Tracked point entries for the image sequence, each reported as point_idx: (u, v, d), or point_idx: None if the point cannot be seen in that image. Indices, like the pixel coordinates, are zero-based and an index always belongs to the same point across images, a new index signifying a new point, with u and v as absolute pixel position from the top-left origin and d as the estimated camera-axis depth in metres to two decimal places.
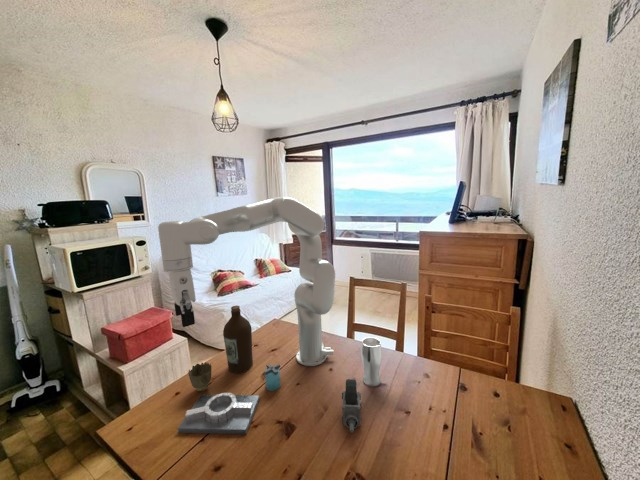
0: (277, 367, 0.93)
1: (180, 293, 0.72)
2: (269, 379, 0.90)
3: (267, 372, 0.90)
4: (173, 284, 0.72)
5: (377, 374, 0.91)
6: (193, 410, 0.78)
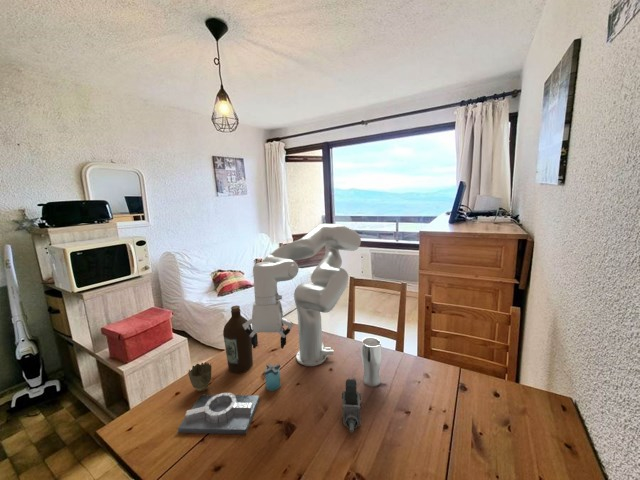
0: (277, 367, 0.93)
1: (281, 320, 0.87)
2: (269, 379, 0.90)
3: (267, 372, 0.90)
4: (275, 315, 0.86)
5: (377, 374, 0.91)
6: (193, 410, 0.78)
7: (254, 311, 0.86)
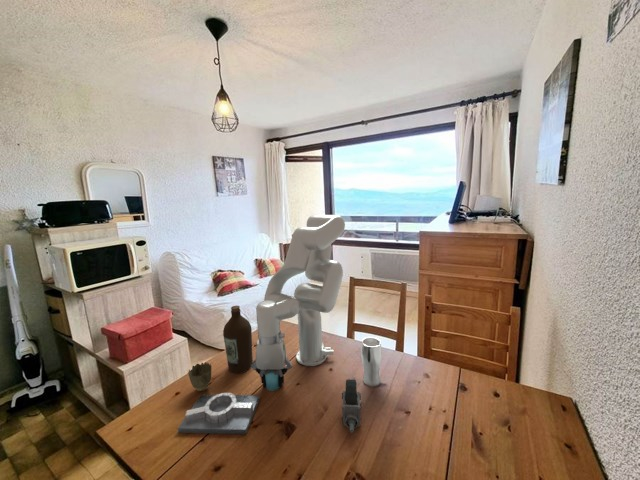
0: None
1: (284, 358, 0.90)
2: (269, 379, 0.90)
3: (267, 372, 0.90)
4: (278, 353, 0.88)
5: (377, 374, 0.91)
6: (193, 410, 0.78)
7: (258, 349, 0.89)
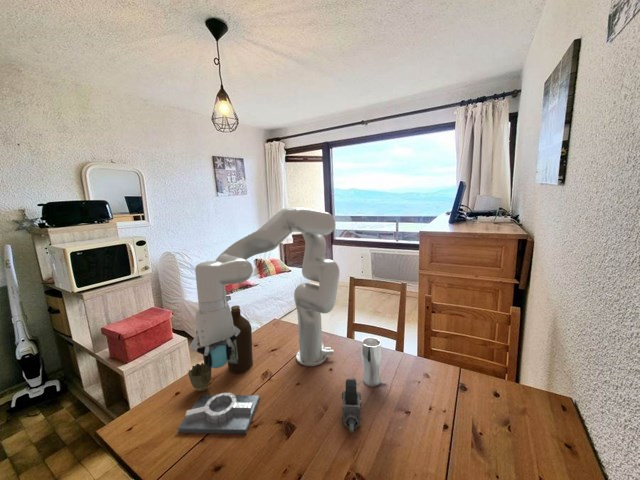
0: None
1: None
2: (218, 353, 0.76)
3: (215, 346, 0.76)
4: (228, 318, 0.77)
5: (377, 374, 0.91)
6: (193, 410, 0.78)
7: (203, 321, 0.72)
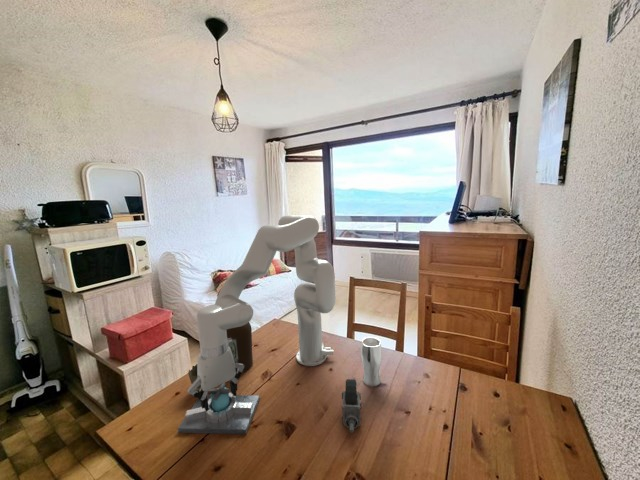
0: (223, 387, 0.81)
1: None
2: (221, 402, 0.78)
3: (218, 396, 0.78)
4: (229, 361, 0.79)
5: (377, 374, 0.91)
6: (193, 410, 0.78)
7: (205, 367, 0.74)
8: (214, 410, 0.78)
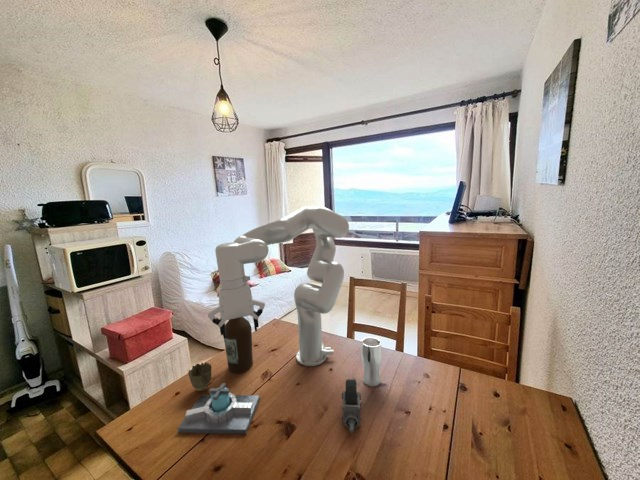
0: (224, 387, 0.82)
1: (252, 302, 0.83)
2: (221, 402, 0.78)
3: (218, 396, 0.78)
4: (246, 297, 0.81)
5: (377, 374, 0.91)
6: (193, 410, 0.78)
7: (222, 297, 0.79)
8: (214, 410, 0.78)
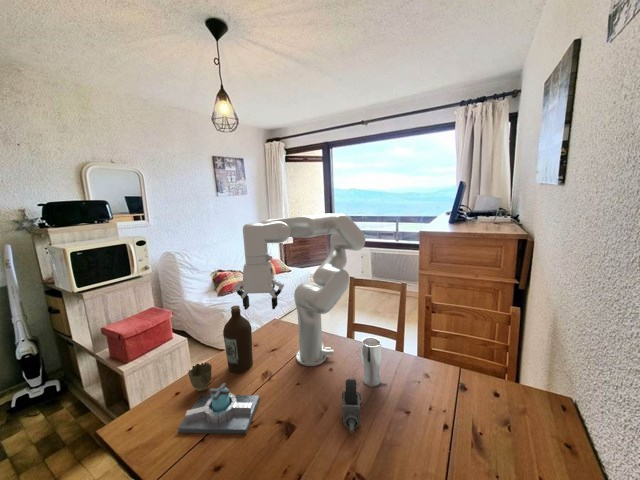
0: (224, 387, 0.81)
1: (272, 281, 0.88)
2: (221, 403, 0.78)
3: (218, 396, 0.77)
4: (265, 275, 0.86)
5: (377, 374, 0.91)
6: (193, 410, 0.78)
7: (245, 272, 0.87)
8: (214, 410, 0.78)
